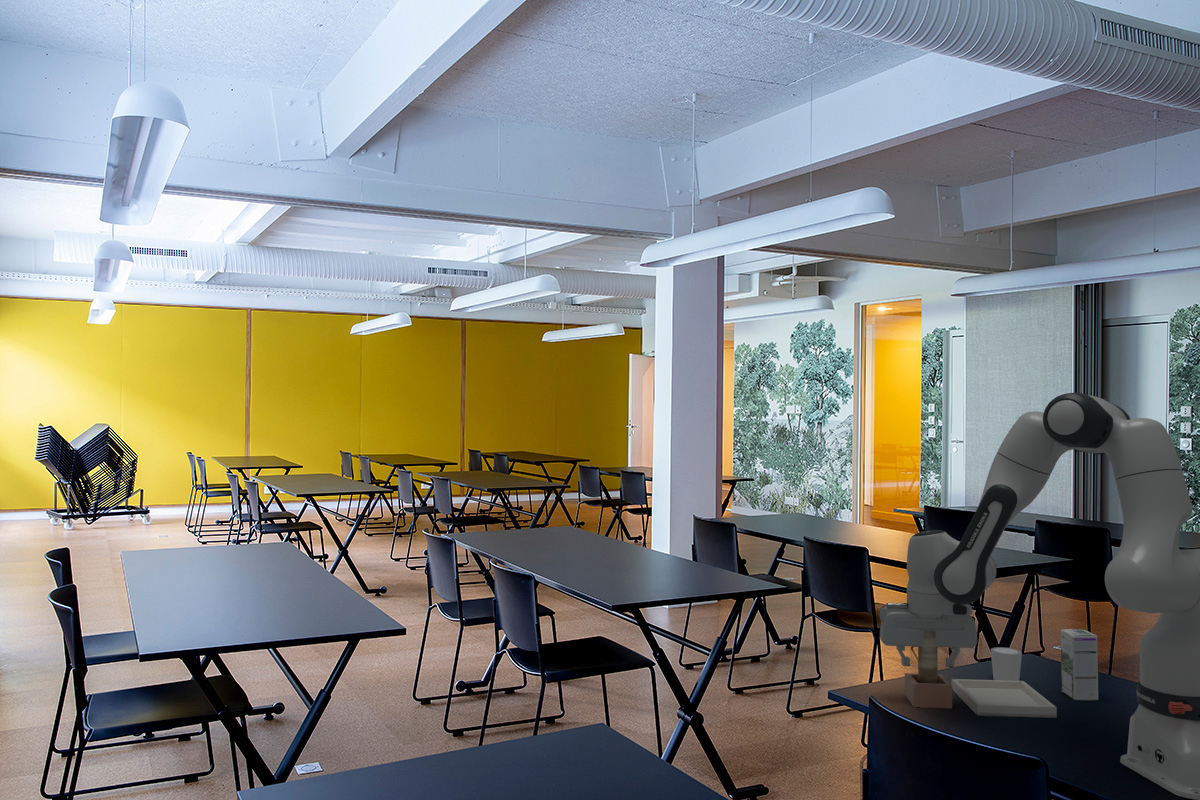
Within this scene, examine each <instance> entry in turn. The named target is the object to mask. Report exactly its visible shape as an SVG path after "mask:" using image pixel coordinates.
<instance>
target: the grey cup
mask: <svg viewBox="0 0 1200 800" xmlns="http://www.w3.org/2000/svg"><path fill="white" fill-rule="evenodd" d="M990 655H991V656H990V657H991V667H992V676H993V680H1005V681H1020V676H1021V669H1022V668H1021V667H1022V657H1023V653H1022V651H1021V650H1019V649H1016V648H1011V647H1003V646H1000V647H999V646H998V647H997V646H996V647H992V648H990Z"/></svg>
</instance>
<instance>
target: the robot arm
mask: <svg viewBox="0 0 1200 800" xmlns="http://www.w3.org/2000/svg"><path fill="white" fill-rule="evenodd" d="M1072 450H1073V451H1075V452H1080V453H1087V454H1092V455H1093V454H1094V455H1106V456H1107V458H1108V459H1109V462H1110V465H1111V467H1112V472H1113V476H1114V480H1115V486H1116V488H1117V493H1118V497H1119V502H1120V507H1121V512H1122V521H1123V532H1122V537H1121V542H1120V546H1119V548H1118V550H1117V552H1116V554H1115V556H1114V557H1113V558H1112V560H1111V561H1110V562H1109V563H1108V564H1107V567H1106V568H1105V573H1104V585H1105V589H1106V592H1107V593H1108V595H1109V597H1110V599H1111V600H1112V601H1113V602H1114V603H1115V604H1116V605H1117V606H1118V607H1120V608H1123V609H1125V610H1128V611H1134V612H1139V613H1146V614H1158V613H1160V615H1159V617H1158V619H1157V620H1156V622H1155V623H1154V625H1153V626H1152V628H1151V629H1149V630H1148V631H1147V632H1146V633H1145V634H1144V635H1143V636H1142V638H1141V640H1140V643H1139V680H1138V681H1137V686H1136V690H1135V691H1136V692H1135V693H1136V701H1137V703H1138V706H1137V709H1136V710H1135V711H1134V712H1133V714H1132V715H1131V716H1130V718H1129V725H1128V726H1129V730H1128V740H1127V753H1126V754H1122V755H1120V760H1119V762H1120V763H1121V764H1122V765H1124V766H1125V767H1127V768H1129V769H1130V770H1133V771H1134V772H1136V773H1137V774H1139V775H1140V776H1142V777H1144V778H1146V779H1148V780H1150V781H1151V782H1153V783H1155V784H1156V785H1158V786H1159V787H1161V788H1163V789H1165V790H1166V791H1168V792H1170V793H1172V794H1174V795H1175V796H1178V797H1182V798H1185V799H1192V800H1200V548H1192V549H1191V548H1189V549H1180V546H1179V544H1180V543H1179V542H1180V541H1179V538H1180V532H1181V529H1182V526H1183V525H1184V524H1186V523H1188V521H1189V520H1190V519H1191V516H1192V515H1193V505H1192V501H1191V498H1190V494H1189V489H1188V487H1187V482H1186V479H1185V475H1184V474H1185V473H1184V472H1183V468H1182V464H1181V461H1180V458H1179V456H1178V453H1177V450H1176V447H1175V445H1174V443H1173V441H1172V438H1171V437H1170V434H1169V432H1168V431H1167V429H1166V427H1165V426H1164V424H1162V423H1161V422H1159V420H1155V419H1152V418H1147V417H1143V418H1142V417H1137V418H1136V417H1135V418H1131V417H1130V415H1129V414H1128V413H1127V411H1125V410H1124V409H1123V408H1122V407H1120V406H1119V405H1117V404H1115V403H1111V402H1109V401H1107V400H1106V399H1104V398H1101V397H1099V396H1095V395H1090V394H1085V393H1083V392H1082V393H1081V392H1069V393H1063V394H1060V395H1058V396H1055V397H1054V398H1053V399H1051V401H1050V402H1049V403H1047V405H1046V407H1045V409H1044V411H1043V412H1042V411H1027V412H1024V413H1023V414H1021V415H1020V416H1019V417H1018V418H1017V419H1016V421H1015V422H1014V424H1013V425H1012V426H1011V428H1010V429H1009V430H1008V432H1007V434H1006V436H1005V437H1004V438H1003V441H1002V443H1000V446H999V448H998V450H997V452H996V454H995V456H994V459H993V460H992V463H991V465H990V467H989V471H988V474H987V477H986V481H985V485H984V488H983V491H982V493H981V497H980V500H979V503H978V505H977V508H976V510H975V512H974V514H973V516H972V518H971V520H970V522H969V524H968V526H967V527H966V530H965V531H964V534H963V535H962V537H961V539H960V541H959V540H957V539H955V538H954V537H952V536H951V535H949V534H948V533H947V532H946V531H944V530H941V529H931V530H930V529H929V530H924V531H918V532H916V533H915V534H913V535H912V536H911V537H910V539H909V540H908V547H907V555H906V556H907V557H906V558H907V559H906V571H907V575H908V582H907V585H906V602H897V603H896V602H895V603H894V602H886V603H885V604H883V605H882V606H881V607H880V609H879V619H880V621H881V622H880V629H879V639H880V641H881V643H882V644H884V645H885V646H887V647H896V648H895V649H896V650H897V652H898V653H899V656H900V657H901V665H902V666H903V667H911V658H910V657H909V656H906V655H905V653H904V651H906V647H917V648H918V647H923V646H924V631H936V641H935V644H936V647H938V648H950V650H951V651H952V652H951V653H950V655H949V656H948V657H945V658H944V660H945V665H944V666H945V667H946V668H950V669H951V668H953V669H954V668H955V660H956V659H957V657H958V656H959V655H960V652H961V648H962V649H974V648H975V647H976V645H978V633H977V624H976V622H975V620H974V617H972V616H971V615H973V607H972V606H971V604H973V603H975V602H977V601H978V600H979V599H980V598H981V597H982V595H983V594H984V593H985V591H988V589H989V588H990V586H991V585H992V584H993V583H994V582H995V580H996V578H997V572H998V571H997V565H996V563H995V560H994V559H993V557H992V554H993V552H994V550H995V549H996V546H997V544H998V542H999V540H1000V538H1001V537H1002V535H1003V533H1004V531H1005V529H1006V528H1007V527H1008V525H1009V524H1010V523H1011V521H1012V520H1013V519H1014V518H1015V517H1016V516H1017V515H1018V514H1020V513H1021V512H1022V511H1023V510H1025V508H1027V507H1029V505H1031V504H1032V503H1033V501H1034V500H1035V499H1036V498H1037V497H1038V496H1039V494H1040V493H1041V492H1042V490H1043V488H1045V486H1046V484H1047V482H1048V481H1049V479H1050V476H1051V475H1052V473H1053V471H1054V469H1055V467H1056V465H1057V462H1058V461H1059V459H1060V457H1062V456H1063V455H1064V454H1065V453H1066V452H1068V451H1072Z"/></svg>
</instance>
